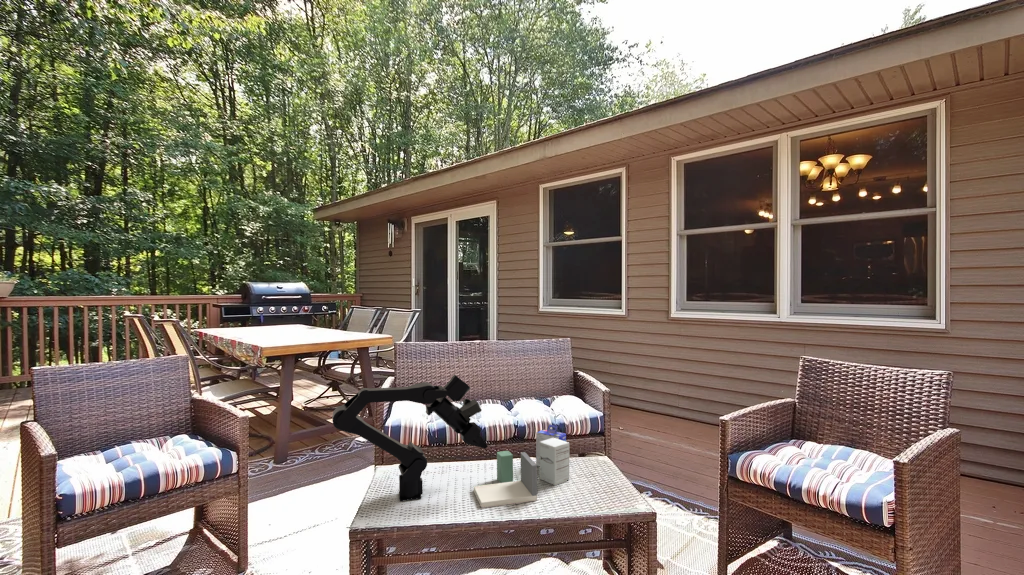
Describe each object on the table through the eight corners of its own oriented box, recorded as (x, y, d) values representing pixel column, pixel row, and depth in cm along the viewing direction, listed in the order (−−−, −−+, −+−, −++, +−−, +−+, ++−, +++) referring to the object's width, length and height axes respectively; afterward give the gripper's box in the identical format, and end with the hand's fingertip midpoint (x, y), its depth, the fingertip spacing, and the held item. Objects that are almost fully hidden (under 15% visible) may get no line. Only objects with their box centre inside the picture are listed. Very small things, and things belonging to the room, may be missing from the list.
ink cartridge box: (567, 467, 166) (567, 426, 166) (559, 472, 162) (558, 430, 162) (544, 461, 172) (543, 422, 172) (535, 466, 168) (535, 425, 168)
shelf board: (481, 507, 136) (481, 471, 136) (473, 491, 147) (473, 457, 147) (537, 500, 140) (536, 465, 140) (525, 484, 152) (525, 452, 152)
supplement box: (538, 479, 156) (538, 441, 156) (554, 473, 161) (554, 436, 161) (554, 486, 150) (554, 446, 150) (570, 480, 155) (570, 441, 155)
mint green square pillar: (501, 484, 152) (501, 456, 152) (497, 479, 156) (496, 452, 157) (513, 482, 154) (512, 454, 154) (508, 477, 158) (508, 450, 158)
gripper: (474, 399, 142) (508, 431, 146) (458, 387, 159) (489, 416, 163) (448, 428, 139) (484, 460, 143) (435, 413, 156) (467, 442, 160)
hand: (482, 443), depth 152 cm, fingers open, 9 cm apart
